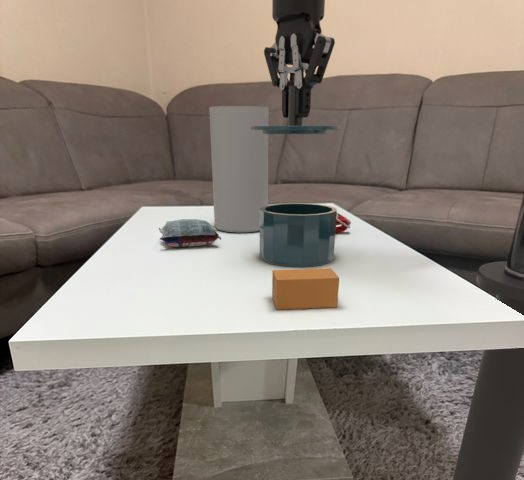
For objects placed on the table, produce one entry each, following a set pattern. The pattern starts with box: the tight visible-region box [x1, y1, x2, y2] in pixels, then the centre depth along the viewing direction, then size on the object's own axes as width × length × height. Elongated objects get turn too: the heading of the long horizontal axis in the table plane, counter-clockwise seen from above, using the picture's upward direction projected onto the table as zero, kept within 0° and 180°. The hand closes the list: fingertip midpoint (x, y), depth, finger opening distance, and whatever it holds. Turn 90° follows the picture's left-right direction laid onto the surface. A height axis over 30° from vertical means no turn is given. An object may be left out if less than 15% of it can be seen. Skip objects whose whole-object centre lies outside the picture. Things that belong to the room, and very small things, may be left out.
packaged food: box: [157, 218, 222, 248], centre depth 91 cm, size 9×12×5 cm
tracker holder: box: [335, 212, 352, 234], centre depth 101 cm, size 12×4×10 cm
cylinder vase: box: [208, 105, 270, 234], centre depth 101 cm, size 12×12×25 cm
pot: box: [259, 202, 338, 268], centre depth 81 cm, size 13×13×8 cm
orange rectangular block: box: [271, 267, 340, 311], centre depth 60 cm, size 8×4×4 cm, turn 96°
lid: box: [251, 85, 341, 135], centre depth 71 cm, size 14×14×7 cm
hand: (295, 116), depth 72 cm, fingers closed on lid, 2 cm apart
